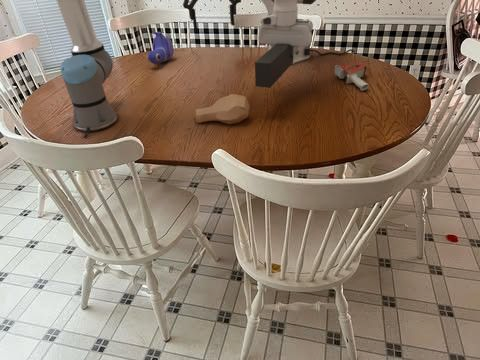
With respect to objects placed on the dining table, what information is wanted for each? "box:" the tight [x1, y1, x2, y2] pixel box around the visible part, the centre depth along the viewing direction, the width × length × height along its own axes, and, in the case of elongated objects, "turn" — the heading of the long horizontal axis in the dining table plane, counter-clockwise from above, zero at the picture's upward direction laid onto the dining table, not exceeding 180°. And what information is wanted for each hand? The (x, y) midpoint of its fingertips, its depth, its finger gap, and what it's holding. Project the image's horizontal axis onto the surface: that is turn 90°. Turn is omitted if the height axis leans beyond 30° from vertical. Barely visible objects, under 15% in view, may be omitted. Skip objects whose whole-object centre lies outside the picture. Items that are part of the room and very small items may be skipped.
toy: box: [146, 31, 175, 69], centre depth 182 cm, size 10×17×25 cm
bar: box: [254, 44, 294, 89], centre depth 130 cm, size 28×5×8 cm, turn 157°
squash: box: [195, 93, 251, 125], centre depth 127 cm, size 11×20×9 cm, turn 92°
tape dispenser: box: [334, 61, 370, 92], centre depth 151 cm, size 18×5×20 cm
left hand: (214, 26), depth 128 cm, fingers open, 13 cm apart
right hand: (284, 56), depth 138 cm, fingers closed on bar, 5 cm apart
